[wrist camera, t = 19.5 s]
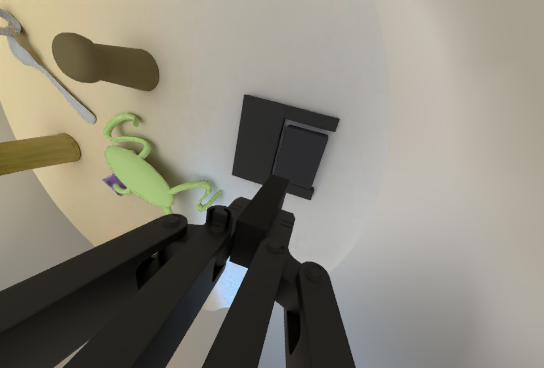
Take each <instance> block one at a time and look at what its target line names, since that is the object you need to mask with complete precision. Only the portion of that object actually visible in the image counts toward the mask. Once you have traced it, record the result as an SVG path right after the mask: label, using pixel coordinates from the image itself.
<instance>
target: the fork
mask: <svg viewBox="0 0 544 368" xmlns="http://www.w3.org/2000/svg"><path fill="white" fill-rule="evenodd" d="M8 25H9V26H8V27H10V24H9V23H8ZM10 28H11V27H10ZM7 39H8V43H9V46H10V49H11V51H12V53H13V55H14V56H15V57H16V58H17V59H18V60H19V61H21V62H22V63H23V64H25V65H28V66H34V67H36V68H38V69H39V70H41V71H42V72H43V73H44V74H45V75H46V76H47V77H48V78H49V79H50V80H51V81H52V82H53V84H54V85H55V86H56V87H57V88H58V89H59V90H60V92H61V93H62V94H63V95H64V97H65V98H66V99H67V100H68V101H69V103H70V104H71V105H72V106H73V108H74V109H75V110H76V111H77V112H78V114H79V115H80V116H81V117H82V118H83V119H84V120H86V121H87V122H88V123H90V124H94V123H95V121H96V118H95V116H94V115H93V114H92V113H91V112H90V111H89V110H87V109H86V108H85V107H84V106H83V105H82V104H81V103H79V102H78V101H77V100H76V99H75V98H74V97H73V96H72V95H71V94H69V93H68V92H67V91H66V90H65V89H64V88H63V87H62V86H61V85H60V84H59V83H58V82H57V81H56V80H55V79H54V78H53V77H52V76H51V75H50V74H49V73H48V72H47V71H46V70H45V69H44V68H43V67H42V66H40V65H39V64H38V63H36V61H35V60H34V59H33V58H32V56H31V55H30V54H29V53H28V52H27V51H26V50H25V49H23V48H22V47H21V46H20V45H19V44H18V43H17V42H16V40H15V38H14V37H9V36H7Z"/></svg>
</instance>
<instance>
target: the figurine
mask: <svg viewBox="0 0 544 368" xmlns="http://www.w3.org/2000/svg"><path fill="white" fill-rule="evenodd" d="M124 120H133V124H134V126H136V127H137V126H139V119H138V118H137V117H136V116H135V115H133V114H127V113H124V114H120V115H117V116H115V117H114V118H112V119H111V120H110V121H109V122H108V123H107V124H106V126H105V128H104V133H103V134H104V135H105V136H106V138H107V139H109V140H112V141H116V142H137V143H141V144H143V145H144V148H143V151H142V152H141V153H140V154H139V155H136V153H135V151H133V150H127V149H125V148H122V147H119V146H108V147H107V148H106V150H105V157H106V160H107V163H108V165H109V167H110V168H111V170H112V171H113V173H114V174H112V175H110V176H108V177H106V178H104V179H102V180H103V181H104V182H105V183H106V184H107V185H108V186H110V187H111V188H112V189H113V190H114V191H115V192H116V193H117V194H118V195H119V196H122V195H130V194H131V193H132V192H133V193H135V194H136V195H137V196H139V197H141V198H142V199H144V200H145V201H147V202H149V203H152V204H154V205H156V206H159V207H162V208H163V209H164V211H165V214H166V215H168V214H173V212H172V210H171V207H170V206H172V205H173V202H174V196H173V195H174V194H176V193H178V192H180V191H183V190H187V189H192V188H196V187H205V188H206V189H207V190H206V193H205V194H204V196H203V197H202V198H201V199H200V201H199V202H198V204H197V206H196V209H197V210H199V211H200V212H202V211H204V210H206V209H207V208H208V207H209V206H210V205H211V204H212V203H213V202H214V201H215V199H216V198H217V197H218V195H219V194H220V193H221V192H222V190H220V191H219V192H218V193H217V194H216V195H215V196H214V197H213V198H212V199H211V200H210V201H209V202H208V203H207V204H205V205H203V206H202V204H201V201H202V200H203V199H204V198H205V197H206V196H207V195H208V194H209V193H210V192H211V189H212V185H211V184H210V183H209V182H207V181H195V182H189V183H183V184H180V185H178V186H175V187H173V188H170V187H169V185H168V184H167V182H166V181H165V180H164V178H163V177H162V176H161V175H160V174H159V173H158V172H157V171H156V170H155V169H154V168H153V167H152V166H151V165H150V164H148V163H147V162H146V161H145V160H144V159H145V158H146V157H147V156H148V155H149V153H150V151H151V146H150V144H149V143H148V142H147V141H146V140H144V139H141V138H138V137H130V136H126V137H115V138H113V137H111V132H112V130H113V128H114V127H115V126H116V125H117V124H118V123H120V122H122V121H124Z"/></svg>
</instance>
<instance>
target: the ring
mask: <svg viewBox="0 0 544 368" xmlns="http://www.w3.org/2000/svg"><path fill="white" fill-rule="evenodd" d="M0 17H2V18H4V19H6V20H7V21H8V22H10V23H11V24H12V25H13V26H14V27H15V28H16V30H12V28H10V27H5V28H3V27H0V35H4V36H9V37H19V35H20V31H21V26H20V24H19V22H18V21H17V20H16V19H15V18H14V17H13V16H12V15H10V14H9V13H7V12H6V11H4V10H2V9H0Z"/></svg>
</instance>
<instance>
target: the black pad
mask: <svg viewBox="0 0 544 368" xmlns="http://www.w3.org/2000/svg"><path fill="white" fill-rule="evenodd" d="M285 119H288V120H292V121H296V122H299V123H303V124H307V125H311V126H314V127H318V128H322V129H325V130H329V131H333V132H335V131H336V128H337V125H338V123H339V120H340V119H338V118H334V117H331V116H327V115H323V114H319V113H315V112H311V111H308V110H304V109H300V108H296V107H292V106H288V105H285V104H281V103H277V102H273V101H269V100H265V99H262V98H258V97H254V96H250V95H244V100H243V106H242V113H241V119H240V126H239V132H238V139H237V145H236V152H235V158H234V165H233V171H232V175H234V176H237V177H240V178H243V179H246V180H249V181H252V182H255V183H258V184H262V185H263V184H264V183H265V182H266V180H267V179H268V178H269V176H270V175H271V174H272V170H273V166H274V162H275V158H276V154H277V150H278V146H279V142H280V138H281V134H282V130H283V126H284V122H285ZM313 192H314V188H313V187H311V189H307V188H304V187H300V186H297V185H294V184H291V183H289V185H288V188H287V191H286V193H289V194H293V195H296V196H299V197H302V198H305V199H308V200H311V197H312V194H313Z"/></svg>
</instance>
